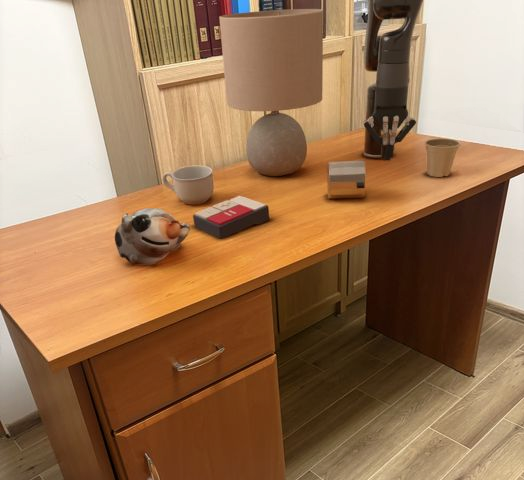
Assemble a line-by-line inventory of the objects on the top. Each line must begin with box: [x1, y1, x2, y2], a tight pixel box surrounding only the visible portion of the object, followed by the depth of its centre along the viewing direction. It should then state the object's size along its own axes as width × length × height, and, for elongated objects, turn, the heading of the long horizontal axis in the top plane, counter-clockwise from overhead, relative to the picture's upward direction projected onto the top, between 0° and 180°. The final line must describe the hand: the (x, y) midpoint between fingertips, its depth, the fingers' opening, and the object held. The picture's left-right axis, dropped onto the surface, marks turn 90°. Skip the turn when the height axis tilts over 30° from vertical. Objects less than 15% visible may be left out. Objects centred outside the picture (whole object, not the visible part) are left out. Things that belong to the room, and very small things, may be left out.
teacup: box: [161, 164, 215, 206], centre depth 144 cm, size 14×11×8 cm
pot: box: [326, 160, 367, 200], centre depth 139 cm, size 9×12×9 cm
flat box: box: [192, 195, 270, 239], centre depth 129 cm, size 11×4×15 cm
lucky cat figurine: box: [114, 207, 191, 266], centre depth 113 cm, size 15×12×14 cm
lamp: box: [219, 8, 324, 177], centre depth 151 cm, size 27×27×41 cm
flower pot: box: [424, 138, 461, 178], centre depth 150 cm, size 9×9×9 cm
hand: (386, 159), depth 135 cm, fingers closed
